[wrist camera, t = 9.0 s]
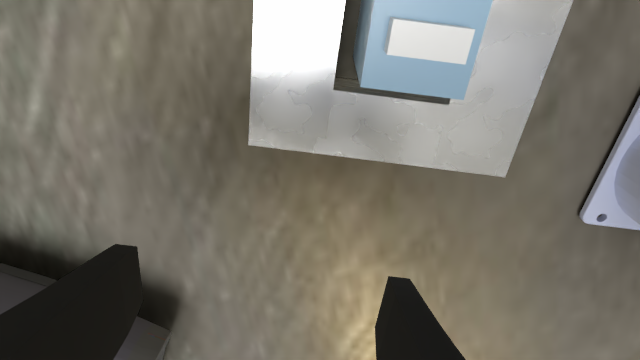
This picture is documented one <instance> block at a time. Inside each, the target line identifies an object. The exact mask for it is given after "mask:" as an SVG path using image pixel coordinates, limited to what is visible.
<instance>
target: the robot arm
mask: <svg viewBox="0 0 640 360" xmlns="http://www.w3.org/2000/svg"><path fill="white" fill-rule="evenodd" d="M600 214H602V215H601V216H600V217H598V216H599V215H600ZM579 216H580V218H581V219H582V220H583V221H584V222H585V223H587V224H593V225H601V226H609V227H617V228H626V229H634V230H640V96H639V98H638V100H637V102H636V104H635V106H634V108H633V110H632V112H631V114H630V116H629V118H628V120H627V122H626V124H625V125H624V127H623V129H622V131H621V133H620V135H619V137H618V139H617V141H616V143H615V145H614V147H613V149H612V151H611V153H610V155H609V157H608V159H607V161H606V163H605V165H604V167H603V169H602V171H601V172H600V174H599V176H598V178H597V180H596V182H595V184H594V186H593V188H592V190H591V192H590V194H589V196H588V198H587V200H586V202H585V204H584V206H583V208H582V210H581V212H580V215H579ZM597 217H598V218H597ZM142 302H143V293H142V284H141V276H140V268H139V259H138V251H137V247H136V246H127V245H119V244H115V245H113V246H111V247H110V248H108V249H106V250H105V251H103V252H102V253H100V254H98V255H97V256H95V257H94V258H92V259H91V260H89V261H88V262H86V263H84V264H83V265H81V266H80V267H78V268H77V269H75V270H74V271H72V272H70V273H69V274H67V275H66V276H64V277H62V278H61V279H59V280H58V281H56V282H54V283H53V284H51V285H50V286H48V287H46V288H45V289H43V290H42V291H40V292H38V293H36V294H35V295H33V296H31V297H30V298H28V299H26V300H24V301H23V302H21V303H19V304H17V305H16V306H14V307H12V308H11V309H9V310H7V311H5V312H4V313H2V314H0V360H113V359H114V358H115V356H116V354H117V353H118V351H119V349H120V348H121V346H122V344H123V343H124V341H125V339H126V337H127V336H128V334H129V332H130V330H131V327H132V325H133V323H134V321H135V319H136V316H137V314H138V312H139V309H140V307H141V305H142ZM375 337H376V359H377V360H465V358H464V357H463V356H462V354H461V353H460V352H459V350H458V349H457V348H456V346H455V345H454V344H453V342H452V341H451V339H450V338H449V337H448V335H447V334H446V332H445V331H444V330H443V328H442V327H441V325H440V324H439V323H438V321H437V320H436V318H435V317H434V315H433V314H432V312H431V311H430V309H429V308H428V306H427V305H426V303H425V302H424V300H423V298H422V297H421V295H420V294H419V292H418V291H417V289H416V288H415V286H414V284H413V283H412V282H411V280H410V279H407V278H398V277H390V276H388V280H387V284H386V288H385V292H384V295H383V299H382V303H381V307H380V310H379V314H378V318H377V322H376V326H375Z"/></svg>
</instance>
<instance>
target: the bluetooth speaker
mask: <svg viewBox="0 0 640 360" xmlns="http://www.w3.org/2000/svg"><path fill="white" fill-rule="evenodd" d="M56 281H57V280H54V279H51V278H49V277H46V276H42V275H39V274H36V273H33V272H30V271H26V270H23V269H19V268H16V267H12V266H9V265H5V264H2V263H0V314H2V313H4V312H5V311H7V310H9V309H11V308H12V307H14V306H16V305H17V304H19V303H21V302H23V301H24V300H26V299H28V298H30V297H31V296H33V295H35V294H36V293H38V292H40V291H42V290H43V289H45V288H46V287H48V286H50V285H51V284H53V283H54V282H56ZM171 335H172V332H171V331H169V330H167V329H165V328H163V327H161V326H158V325H156V324H154V323H152V322H149V321H147V320H145V319H142V318H140V317H137V316H136V319H135V321H134V323H133V325H132V327H131V330H130V332H129V334H128V336H127V337H126V339H125V341H124V343H123V344H122V346H121V348H120V349H119V351H118V353H117V354H116V356H115V358H114V359H113V360H164V354H165V349H166V346H167V343H168V341H169V340H170V337H171Z"/></svg>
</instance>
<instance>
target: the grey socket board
mask: <svg viewBox="0 0 640 360" xmlns="http://www.w3.org/2000/svg"><path fill="white" fill-rule="evenodd" d="M345 1H346V0H254V14H253V40H252V65H251V90H250V115H249V140H248V145H253V146H261V147H269V148H277V149H285V150H293V151H301V152H309V153H317V154H325V155H333V156H341V157H349V158H357V159H364V160H372V161H380V162H388V163H396V164H404V165H412V166H420V167H428V168H436V169H444V170H452V171H460V172H468V173H476V174H484V175H492V176H500V177H505V176H506V174H507V171H508V168H509V166H510V163H511V161H512V158H513V155H514V153H515V150H516V148H517V145H518V142H519V140H520V137H521V135H522V132H523V129H524V127H525V124H526V122H527V119H528V116H529V114H530V111H531V109H532V106H533V104H534V101H535V98H536V96H537V93H538V91H539V88H540V85H541V83H542V80H543V78H544V75H545V72H546V70H547V67H548V65H549V62H550V59H551V57H552V54H553V52H554V49H555V47H556V44H557V41H558V39H559V36H560V34H561V31H562V28H563V26H564V23H565V21H566V18H567V15H568V13H569V10H570V8H571V5H572V2H573V0H493V2H492V5H491V8H490V12H489V15H488V19H487V22H486V26H485V29H484V32H483V36H482V39H481V43H480V46H479V49H478V53H477V56H476V60H475V63H474V67H473V70H472V73H471V77H470V80H469V84H468V87H467V90H466V94H465V97H464V100H459V99H451V98H443V97H435V96H427V95H419V94H411V93H403V92H395V91H387V90H379V89H371V88H363V87H360V84H359V80H352V79H345V78H337V77H335V73H336V66H337V58H338V51H339V44H340V37H341V30H342V22H343V15H344V8H345Z"/></svg>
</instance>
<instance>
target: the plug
mask: <svg viewBox="0 0 640 360" xmlns="http://www.w3.org/2000/svg"><path fill="white" fill-rule="evenodd" d="M492 2H493V0H361V5H360V11H359V18H358V25H357V31H356V38H355V44H354V51H353V59H354V63H355V67H356V71H357V76H358V80H359V84H360V87H363V88H371V89H379V90H387V91H395V92H403V93H411V94H419V95H427V96H435V97H443V98H451V99H459V100H464V97H465V94H466V90H467V87H468V84H469V80H470V77H471V73H472V70H473V67H474V63H475V60H476V56H477V53H478V49H479V46H480V43H481V39H482V36H483V32H484V29H485V26H486V22H487V19H488V15H489V12H490V8H491V5H492Z"/></svg>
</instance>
